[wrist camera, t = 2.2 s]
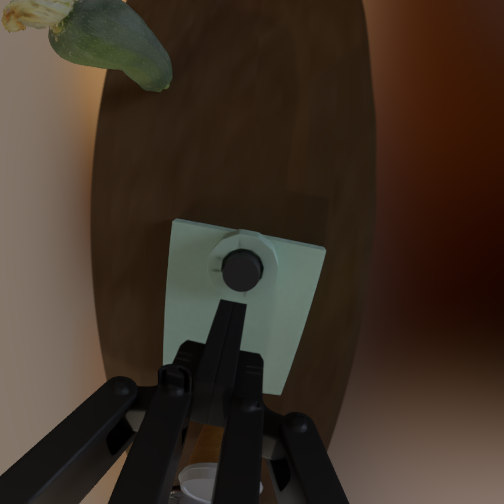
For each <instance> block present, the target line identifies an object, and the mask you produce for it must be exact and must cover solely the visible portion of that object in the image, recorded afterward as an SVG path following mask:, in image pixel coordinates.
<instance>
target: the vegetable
mask: <svg viewBox="0 0 504 504" xmlns="http://www.w3.org/2000/svg"><path fill="white" fill-rule="evenodd" d="M2 23H3V26H4V27H5V29H6V30H8V32H17V31H20V30H25V29H26V26H28V27H33V28H36V29H43V28H47V27H48V26H49V41H50V44H51V46H52V48H53V49H54V51H55V52H56V53H57V54H58V55H59V56H60V57H61V58H63V59H66V60H67V61H70V62H72V63H75V64H79V65H85V66H92V67H98V68H104V69H119V70H122V71H124V73H125V74H126V75H127V76H129V77H130V78H131V79H132V80H133V81H135V82H136V83H137V84H139V85H140V87H141V88H143V89H144V90H146V91H156V92H161V91H162V89H168V87H169V83H170V82H171V80H172V77H173V75H172V65H171V61H170V58H169V55H168V53H167V52H166V50H165V49H164V47H163V46H162V45H161V43H160V42H159V41H158V39H157V38H156V37H155V35H154V34H153V32H152V31H151V30H150V29H149V28H148V27H147V25H146V24H145V22H144V21H143V19H142V18H141V17H140V16H139V15H138V14H137V13H136V12H135V11H134V10H133V9H132V8H131V7H129V6H128V5H127V4H126V3H125V2H123V1H122V0H12V1H11V2H10V3H9V4H8V5H7V6H6V7H5V9H4V10H3V17H2Z"/></svg>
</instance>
